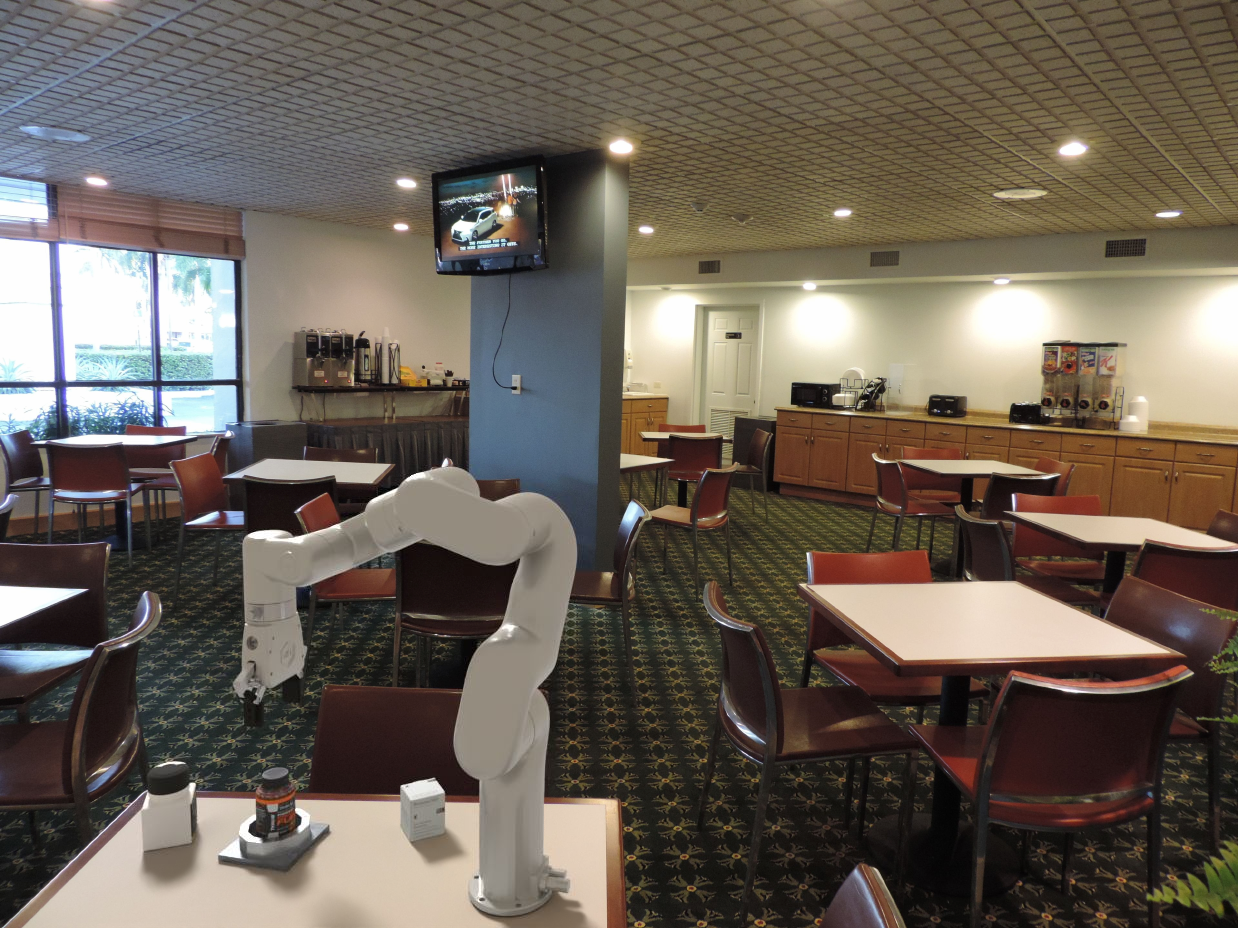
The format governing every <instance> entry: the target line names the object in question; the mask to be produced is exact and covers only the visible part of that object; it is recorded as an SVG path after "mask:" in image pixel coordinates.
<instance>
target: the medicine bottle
mask: <svg viewBox="0 0 1238 928" xmlns="http://www.w3.org/2000/svg"><path fill="white" fill-rule="evenodd" d="M190 779H191V778H190V766H189V765H188V764H187V763H185V762H182V761H168V762H164V763H161V764H158V765H156V766H155V767H152V768H151V769H150V770H149V772H148V773H147V774H146V782H147V793H146V796H145V797H144V798H145V799H144V802H143V805H142V808H141V810H140V812H141V813H140V814H141V817H140V818H141V836H142V850H143V852H149V851H155V850H160V849H167V848H172V847H178V846H184V845H189V844H192V843H193V842H194V838H195V833H196V829H197V824H198V802H197V801H198V800H197V799H198V798H197V784H196V783H195V782H191V781H190Z"/></svg>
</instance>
